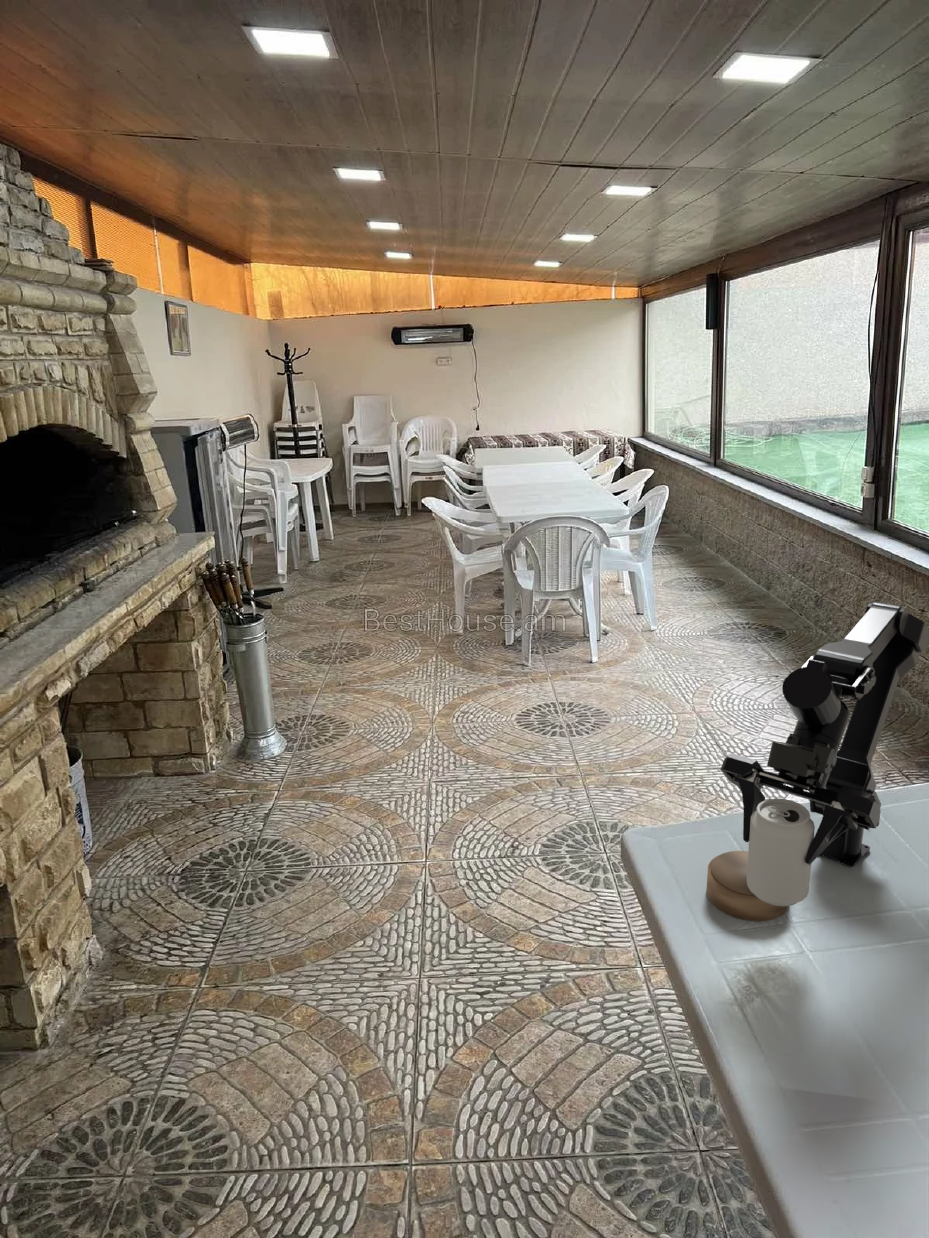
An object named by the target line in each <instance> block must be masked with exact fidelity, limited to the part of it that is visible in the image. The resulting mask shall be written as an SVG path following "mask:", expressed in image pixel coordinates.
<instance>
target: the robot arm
mask: <svg viewBox="0 0 929 1238" xmlns="http://www.w3.org/2000/svg"><path fill="white" fill-rule="evenodd" d="M928 643H929V629H928V626H927V624H926V622H925V621H923V620H922V619H919V618H918V617H916V616H915V615H912V614H911V613H910V612H909V610H908V609H907V608H906V607H903V606H902V605H897V604H892V603H885V602H879V601H874V602H869V603H868V604H867V605H866V608H865V612H864V615H863V616H862V617H861V618H860V619H859V620H858V622H857V623H856V624H855V625H854V626H853V627H852V629H851V630H850V631H849V632H848V633H847V634H846V636H845V637H844V638H843V639H842V640H839V641H834V642H829V643H826V644H825V645H823V646H822V647H820V648H819V649H817V651H816V652H815V653H814V654H813V655H811V656H810V657H809V658H808V660H807V661H806V662H804V664H803V665H802V666H801V667H799V668H797V669H795V670H793V671H792V672H790V673H789V674H788V675H787V677H785V678H784V680H783V683H782V687H781V688H782V694H783V697H784V700H785V702H787V704H788V706H789V708H790V710H791V711H792V713H793V715H794V716H795V718H796V719H797V721H796V724H795V726H794V729H793V733H791V732H790V733H789V736H787V739H786V741H785V742H783V741H782V742H781V741H776V740H775V741H772V744H771V747H770V752H769V755H768V760H767V764H766V766H767V767H769V768H772V769H773V770H774V771H777V772H778V773H775V772H771V771H768V770H764V768H763V767H762V765H761V764H760V763H759V761H758V760H756V759H754V758H749V757H747V756H743V755H740V754H737V753H734V752H732V753H730V754H729V755H727V756H725V758H724V760H723V762H722V764H721V767H720V771H721V773H723V775H724V776H725V778H727V780H728V781H729V782H730V783H731V784H733V785H735V786H736V787H737V788H738V789H739V790H740V791H741V796H742V805H743V806H742V807H743V810H742V811H743V819H742V820H743V826H742V827H743V831H742V833H743V834H742V836H743V837H742V839H743V841H744V843H749V836H750V820H751V816H752V814H753V812H755V811H756V810H757V806H758V804H760V803H761V802H762V801H765V800H766V796H765V794H764V793H763V792H762V791H761V790H762V789H763V788H764V786H765V787H766V788H771V789H774V790H777V791H779V792H783V793H787V794H789V795H793V796H796V797H799V798H803V799H806V800H809V810H810V811H809V813H814V814H815V813H816V814H819V815H821V816H822V818H821V821H820V824H819V826H818V827H817V830H816V832H815V833H814V839H813V841H812V843H811V845H810V848H809V850H808V853H807V857H806V860H805V862H806V863H807V864H809V865H810V864H811V865H812V864H813V862H814V861H815V860H816V859H817V858H818V857H819V856H822V857H825V858H828V859H830V860H832V861H834V862H838V863H841V864H842V865H845V866H847V867H851V868H852V867H855V866H856V865H857V864H858V863H859V862H860V861H861V860H862V859H863V858H864V857H865V856H866V855H867V854H868V853H869V852H870V850H871V846H869V845H868V844H865V843H863V839H864V829H865V830H867V831H870V829H877V827H879V825H880V820H881V819H880V818H881V807H882V803H881V800H880V798H879V796H878V794H877V791H876V787H877V783H876V780H875V777H874V773H873V769H872V761H873V759H874V755H875V752H876V748H877V746H878V743H879V741H880V737H881V734H882V731H883V728H884V726H885V723H886V719H887V716H888V713H889V709H890V707H891V704H892V701H893V698H894V696H895V692H896V689H897V687H898V686H897V685H898V683H899V680H900V678H902V677H903V676H904V675H905V674H907V673H908V672H910V671H911V670H912V669H914V668H915V667H916V666H917V663H918V661H919V659H920V656H921V653H922V654H924V653H925V652H926V650H927V647H928ZM841 697H844V698H848V699H852V700H856V701H855V704H854V707H853V710H852V713H851V712H850V710H849V708H848V706H847V705H846V703H845V702H844V701H842V699H841Z"/></svg>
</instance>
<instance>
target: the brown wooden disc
mask: <svg viewBox="0 0 929 1238" xmlns="http://www.w3.org/2000/svg"><path fill="white" fill-rule="evenodd" d="M748 852H749V850H733V851H732V850H730V851H727V852H723V853H721V854H719V855H717V856H715V857H713V858H712V859H711V860H710V861H709V863H708V865H707V876H706V877H707V879H706V895H707V898H708V900H709V902H710V903H711V904H712V905H713V906H714V907H715V908H716V909H717V910H719V911H720V912H722V913H724V914H726V915H727V916H730V917H732V918H736V919H738V920H742V921H748V922H766V921H771V920H775V919H778V918H781V916H783V915H784V914H786V912H787V911H788V909H789V907H790V906H775V905H771V904H768V903H766V902H764V901H762V900H760V899H759V898H758V897H757V896H756V895H755V894H753V893H752V892H751V891H750V889H749V888H748V886H747V868H748Z"/></svg>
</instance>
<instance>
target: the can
mask: <svg viewBox="0 0 929 1238" xmlns="http://www.w3.org/2000/svg"><path fill="white" fill-rule="evenodd" d="M815 827H816V826H815V823H814V821H813V820H812V819H811V812H810V811H809V810H808V809H807V807H805V806H804V805H802V804H801V803H799V802H796V801H794V800H790V799H785V798H769V799H765V800H764V801H762V802H761V803H760V804H758V806H757V810H756V811H755V812H753V814H752V816H751V820H750V836H749V842H748V851H749V852H748V868H747V886H748V888H749V889H750V891H751V892H752V893H753V894H755V895H756V896H757V897H758V898H759V899H760V900H762V901H764V902H766V903H768V904H771V905H775V906H789V907H790V906H794V905H796V904H797V903H798V904H799V903H801V902H803V901H804V900H805V899H807V897H808V895H809V894H810V893H809V892H810V885H811V884H810V883H811V882H810V881H811V873H812V872H811V870H812V863H811V864H810V865H809V864H807V863H806V862H805V860H806V857H807V853H808V850H809V848H810V845H811V843H812V841H813V839H814V837H815Z"/></svg>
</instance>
